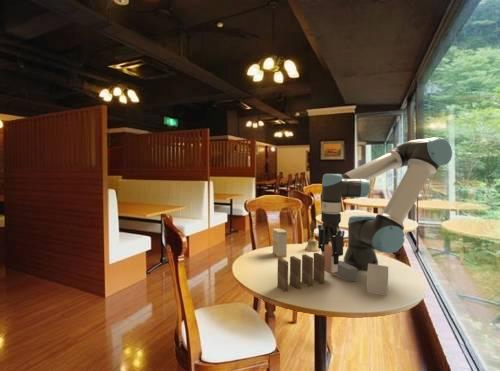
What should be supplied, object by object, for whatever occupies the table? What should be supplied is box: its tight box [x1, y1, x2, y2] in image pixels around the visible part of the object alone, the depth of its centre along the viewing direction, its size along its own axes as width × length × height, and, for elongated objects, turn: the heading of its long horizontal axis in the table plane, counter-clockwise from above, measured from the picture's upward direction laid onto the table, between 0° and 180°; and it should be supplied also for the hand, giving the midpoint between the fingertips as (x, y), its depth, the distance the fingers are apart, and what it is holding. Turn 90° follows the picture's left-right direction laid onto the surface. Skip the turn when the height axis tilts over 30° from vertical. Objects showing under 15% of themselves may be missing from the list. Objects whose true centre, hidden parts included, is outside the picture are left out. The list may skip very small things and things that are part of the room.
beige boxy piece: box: [365, 263, 389, 296], centre depth 105 cm, size 4×7×10 cm, turn 58°
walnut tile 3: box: [301, 254, 314, 288], centre depth 111 cm, size 2×5×11 cm, turn 24°
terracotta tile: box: [324, 243, 335, 276], centre depth 116 cm, size 2×5×11 cm, turn 24°
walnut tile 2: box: [289, 255, 302, 290], centre depth 109 cm, size 2×5×11 cm, turn 24°
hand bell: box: [304, 220, 321, 253], centre depth 158 cm, size 8×8×16 cm
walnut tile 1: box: [277, 257, 289, 293], centre depth 107 cm, size 2×5×11 cm, turn 24°
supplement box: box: [272, 228, 288, 258], centre depth 148 cm, size 8×5×13 cm, turn 17°
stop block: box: [334, 260, 359, 283], centre depth 119 cm, size 4×10×5 cm, turn 24°
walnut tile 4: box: [313, 252, 326, 285], centre depth 114 cm, size 2×5×11 cm, turn 24°
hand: (329, 269), depth 116 cm, fingers closed on terracotta tile, 5 cm apart
